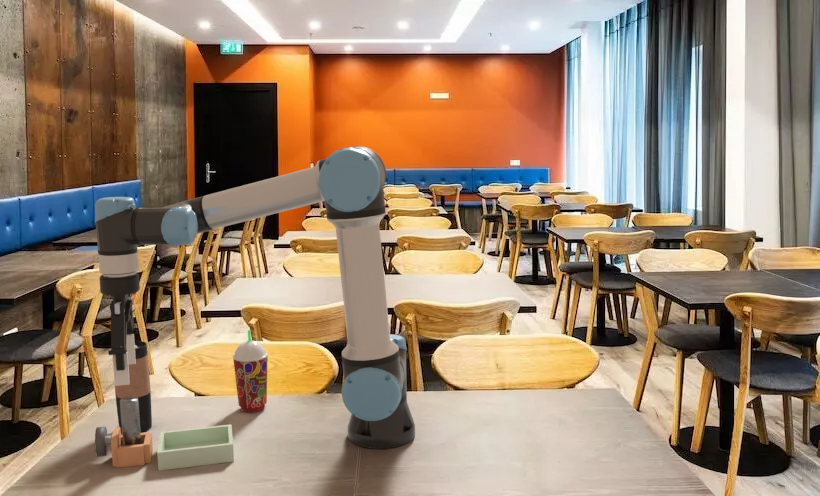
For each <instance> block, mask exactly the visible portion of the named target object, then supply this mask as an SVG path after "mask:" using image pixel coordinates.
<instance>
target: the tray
mask: <svg viewBox="0 0 820 496" xmlns="http://www.w3.org/2000/svg"><path fill="white" fill-rule="evenodd" d="M159 434H160V435H159V439H158V447H157V454H156V455H157V467H158V471H165V470H166V471H167V470H173V469H183V468H189V467H199V466H207V465H208V466H209V465H216V464H222V463H233V462H235V457H234V456H235V454H234V452H235V451H234V438H233V425H232V424H223V425H222V424H221V425H213V426H205V427H196V428H195V427H194V428H184V429H175V430H168V431H161V432H159Z"/></svg>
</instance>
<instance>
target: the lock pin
mask: <svg viewBox="0 0 820 496" xmlns="http://www.w3.org/2000/svg"><path fill="white" fill-rule="evenodd" d="M120 410H121V423H122V433H121V435H122V436H123V446H129V445H138V444H141V431H140V417H139V404H138V398H137V397H126V398H123V399H121V400H120Z"/></svg>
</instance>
